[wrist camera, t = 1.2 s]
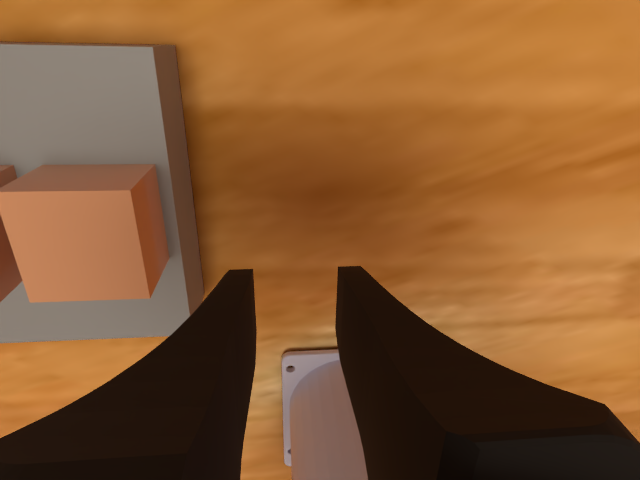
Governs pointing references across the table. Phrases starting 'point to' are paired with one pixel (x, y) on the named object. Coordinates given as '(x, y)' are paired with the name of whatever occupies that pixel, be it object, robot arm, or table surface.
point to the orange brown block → (86, 231)
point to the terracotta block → (7, 245)
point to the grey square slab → (102, 148)
